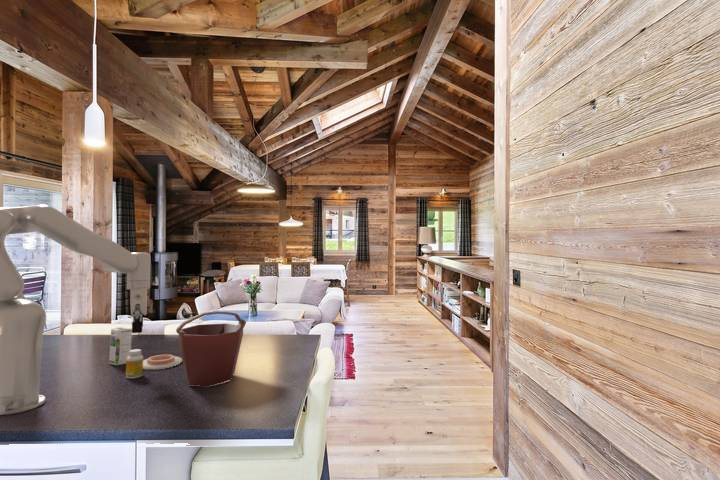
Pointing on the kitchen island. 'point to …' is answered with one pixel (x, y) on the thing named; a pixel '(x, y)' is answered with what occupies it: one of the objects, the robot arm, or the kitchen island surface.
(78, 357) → the kitchen island surface
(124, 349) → the syrup box
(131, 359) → the supplement bottle
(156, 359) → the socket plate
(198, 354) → the bucket
